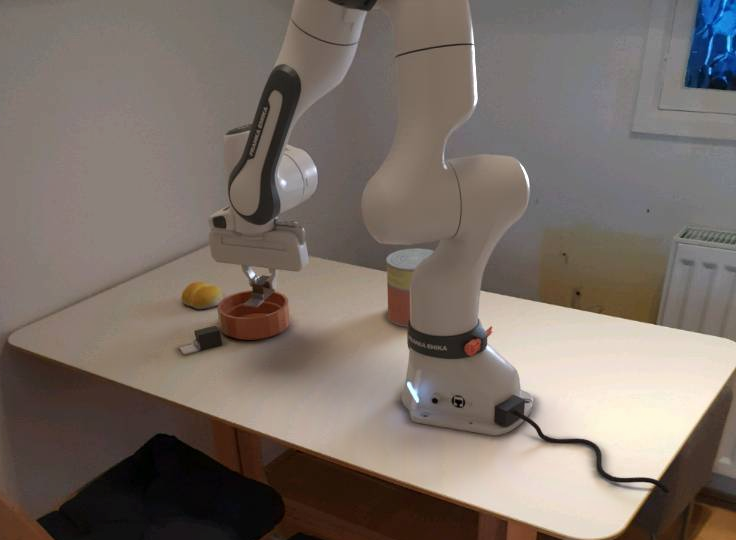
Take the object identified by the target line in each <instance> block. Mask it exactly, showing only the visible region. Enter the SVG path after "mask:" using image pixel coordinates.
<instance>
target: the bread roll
mask: <svg viewBox="0 0 736 540" xmlns="http://www.w3.org/2000/svg"><path fill="white" fill-rule="evenodd" d="M223 299H224V294H223V291H222V290H221V288H220V287H219V286H217V285H211V284H209V283H206V282H204V281H195V282H192V283H189V284H188V285H187V286H186V287H185V288H184V289H183V291H182V293H181V300H182V302H183V304H185V305H187V306H188V307H192V308H194V309H197V310H204V309H210V308H211V309H212V308H214V307H216V306H218V304H219V303H220V302H221V301H222V300H223Z"/></svg>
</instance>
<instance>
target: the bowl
mask: <svg viewBox="0 0 736 540" xmlns="http://www.w3.org/2000/svg"><path fill="white" fill-rule="evenodd" d="M252 292H253V290H252V289H251V290H250V289H248V290H242V291H239V292H236V293H233V294H230V295H228V296H226V297H223V299H222V301H221V302H220V303H219V304H218V305H217V314H218V320H219V326H220V331H221V332H222V333H223V334H224V335H226V336H227V337H231V338H234V339H238V340H245V341H253V340H255V341H256V340H262V339H267V338H271V337H273V336H275V335H279V334H280V333H282V332H284V331H285V330H286V329H287V328H288V327H289V325H290V324H291V314H290V306H289V305H290V304H289V298H288V297H287V296H286V294H283V293H281V292H279V291H276V290H275V292H274V293H273V294H271V295H270V296H269V297H268V298H267V299H265V300H264V302H263V303H262V304H261V305H260V306H258V307H250V306H244V303H245V302H247V301H248V300H249V299H250V298H252V297H251V293H252Z"/></svg>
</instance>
